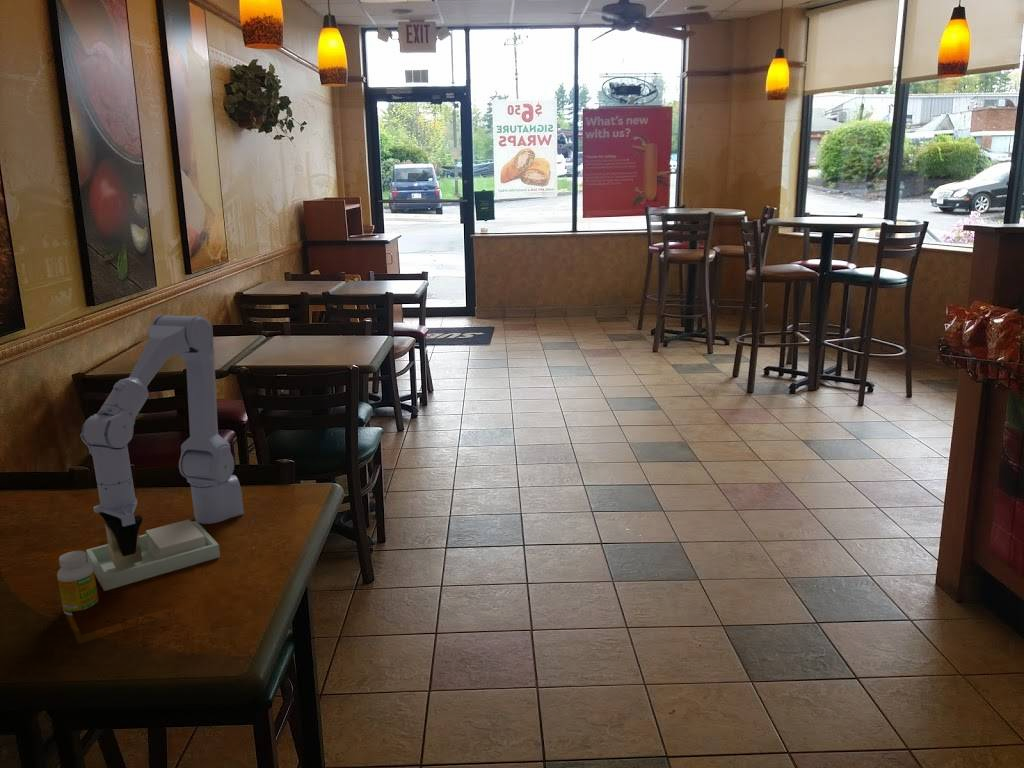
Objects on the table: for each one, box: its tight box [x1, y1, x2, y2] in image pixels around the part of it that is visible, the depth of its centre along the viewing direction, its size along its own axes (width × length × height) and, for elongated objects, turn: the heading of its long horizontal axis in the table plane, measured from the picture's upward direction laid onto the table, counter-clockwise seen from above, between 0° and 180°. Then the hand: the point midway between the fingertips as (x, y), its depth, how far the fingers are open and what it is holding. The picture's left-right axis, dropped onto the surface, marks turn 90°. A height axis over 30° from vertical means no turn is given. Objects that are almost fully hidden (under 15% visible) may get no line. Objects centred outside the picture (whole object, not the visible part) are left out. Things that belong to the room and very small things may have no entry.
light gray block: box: [145, 519, 206, 560], centre depth 154 cm, size 8×10×4 cm
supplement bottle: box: [56, 550, 99, 617], centre depth 136 cm, size 5×5×10 cm
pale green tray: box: [85, 520, 221, 592], centre depth 152 cm, size 20×14×4 cm
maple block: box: [104, 523, 143, 568], centre depth 148 cm, size 4×4×7 cm
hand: (125, 549), depth 149 cm, fingers closed on maple block, 4 cm apart
